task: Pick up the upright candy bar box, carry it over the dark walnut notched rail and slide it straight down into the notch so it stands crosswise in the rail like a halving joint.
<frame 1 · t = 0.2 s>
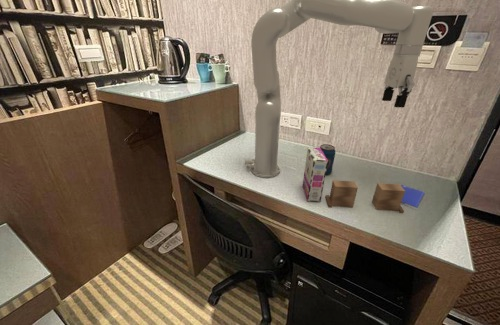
hand: (392, 103, 85), 31 cm above the table, fingers open, 9 cm apart
candy bar box: (311, 193, 89), on the table
notched walnut rail: (362, 204, 83), on the table
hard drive: (406, 198, 88), on the table
soda can: (323, 172, 104), on the table
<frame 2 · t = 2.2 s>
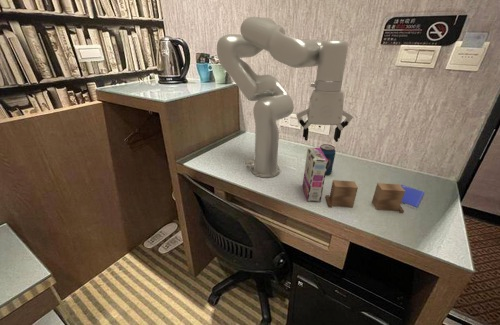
hand: (320, 139, 79), 22 cm above the table, fingers open, 9 cm apart
nothing on the table moved.
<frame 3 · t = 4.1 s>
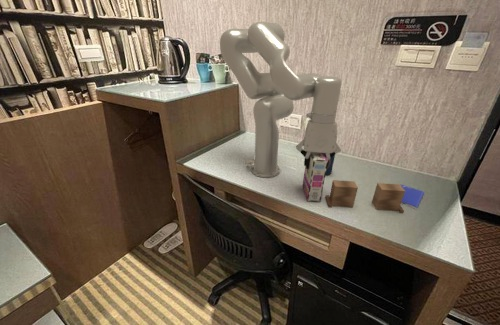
hand: (315, 167, 84), 11 cm above the table, fingers closed on candy bar box, 5 cm apart
candy bar box: (311, 193, 89), on the table, touching gripper
everything else where it was.
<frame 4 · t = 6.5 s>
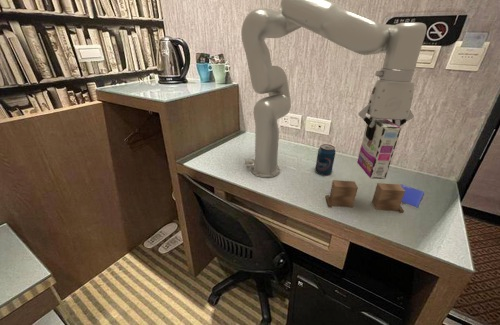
hand: (379, 138, 72), 25 cm above the table, fingers closed on candy bar box, 5 cm apart
candy bar box: (370, 170, 77), point 13 cm above the table, touching gripper
everything else where it was.
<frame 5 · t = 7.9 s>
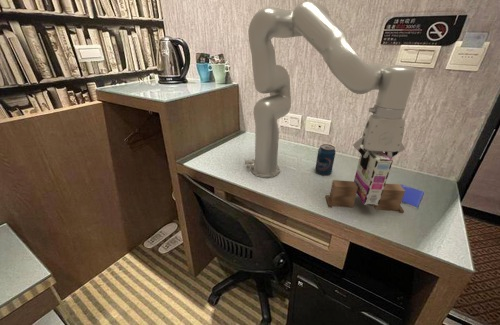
hand: (372, 167, 76), 15 cm above the table, fingers closed on candy bar box, 5 cm apart
candy bar box: (364, 196, 81), point 4 cm above the table, touching gripper
everything else where it was.
when the fingers open (12 cm above the table, at t = 9.2 s): candy bar box drops 1 cm, on the table.
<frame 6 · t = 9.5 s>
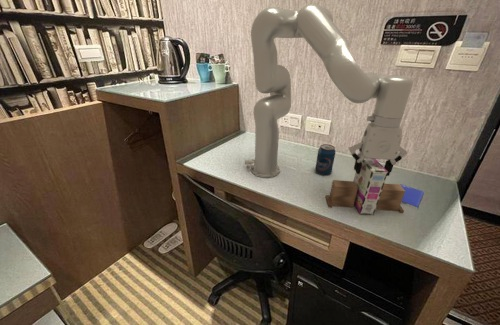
hand: (371, 172, 77), 13 cm above the table, fingers open, 8 cm apart
candy bar box: (361, 205, 83), on the table
everything else where it was.
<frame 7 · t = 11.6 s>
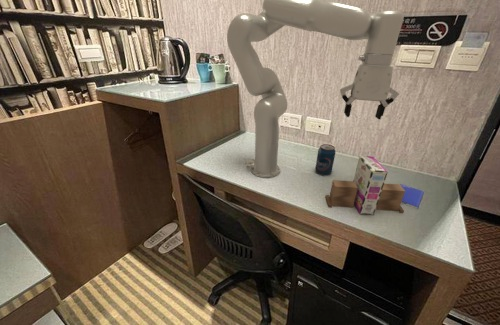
hand: (362, 116, 78), 29 cm above the table, fingers open, 9 cm apart
nothing on the table moved.
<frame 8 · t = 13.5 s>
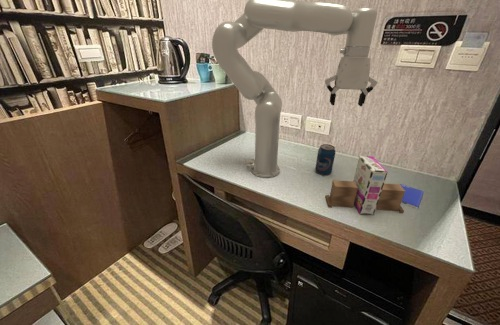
hand: (346, 105, 86), 30 cm above the table, fingers open, 9 cm apart
nothing on the table moved.
at the end: candy bar box inside the target area on the notched walnut rail (0.3 cm from its centre), point 0.0 cm above the notched walnut rail's base; candy bar box tilted 0°; the gripper is holding nothing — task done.
